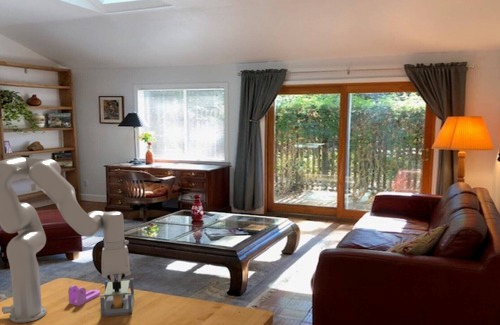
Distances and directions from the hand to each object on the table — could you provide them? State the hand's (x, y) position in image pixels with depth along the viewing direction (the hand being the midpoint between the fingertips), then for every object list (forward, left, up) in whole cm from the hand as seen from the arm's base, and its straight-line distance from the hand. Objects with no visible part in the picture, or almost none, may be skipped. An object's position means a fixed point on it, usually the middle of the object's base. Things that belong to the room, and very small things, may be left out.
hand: (117, 290), depth 170 cm
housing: (0, +5, -9) cm, 10 cm away
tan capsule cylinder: (0, +1, -7) cm, 7 cm away
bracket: (-14, +16, -9) cm, 23 cm away
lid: (0, +4, -1) cm, 5 cm away
